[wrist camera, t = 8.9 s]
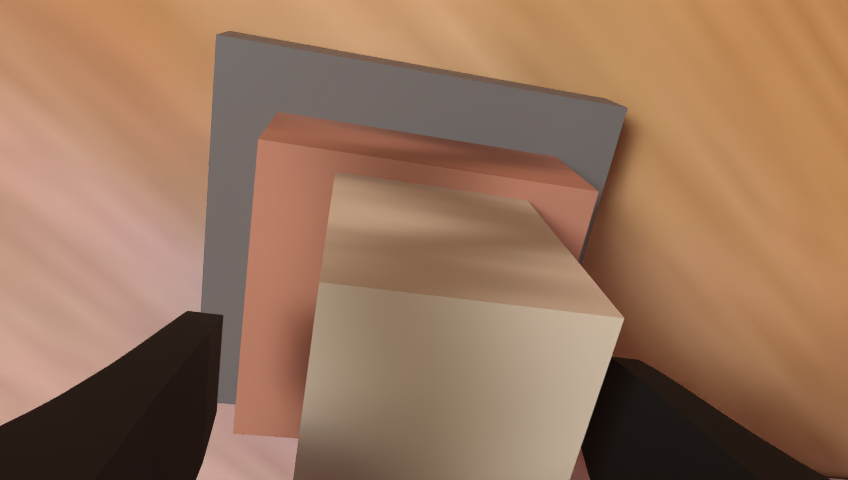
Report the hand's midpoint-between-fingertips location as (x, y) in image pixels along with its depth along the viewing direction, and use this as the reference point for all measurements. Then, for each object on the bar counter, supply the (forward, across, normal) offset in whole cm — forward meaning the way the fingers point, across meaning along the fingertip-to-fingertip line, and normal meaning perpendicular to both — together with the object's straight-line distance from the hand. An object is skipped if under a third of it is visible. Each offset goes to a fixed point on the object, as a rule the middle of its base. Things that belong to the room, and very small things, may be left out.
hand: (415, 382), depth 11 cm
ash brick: (+2, 0, 0) cm, 2 cm away
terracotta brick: (+5, 0, 0) cm, 5 cm away
